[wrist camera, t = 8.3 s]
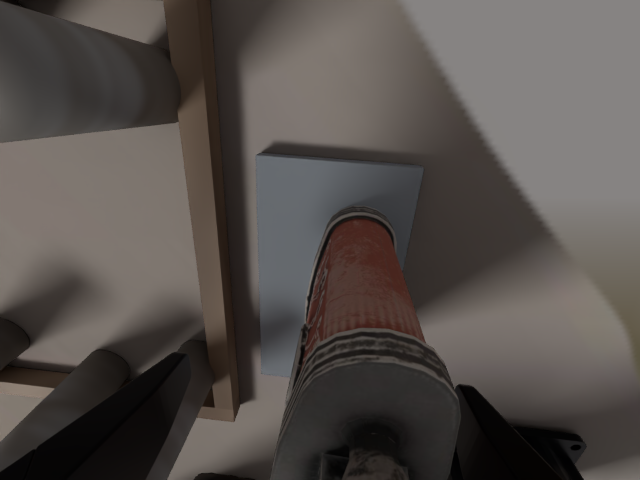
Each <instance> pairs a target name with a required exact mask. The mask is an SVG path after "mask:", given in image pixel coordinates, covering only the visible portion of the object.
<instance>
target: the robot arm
mask: <svg viewBox="0 0 640 480" xmlns="http://www.w3.org/2000/svg"><path fill="white" fill-rule="evenodd" d="M191 375H192V371H191V365H190V359H189V355H188V354H187V353H183V352H173V353H171V354H170V355H168V356H167V357H165V358H164V359H163V360H161V361H160V362H158V363H157V364H155V365H154V366H152V367H151V368H150V369H148V370H147V371H145V372H144V373H142V374H141V375H139V376H138V377H137V378H135V379H134V380H132V381H131V382H129V383H128V384H126V385H125V386H124V387H122V388H121V389H119V390H118V391H116V392H115V393H113V394H112V395H111V396H109V397H108V398H106V399H105V400H103V401H102V402H100V403H99V404H98V405H96V406H95V407H93V408H92V409H90V410H89V411H87V412H86V413H85V414H83V415H82V416H80V417H79V418H77V419H76V420H74V421H73V422H72V423H70V424H69V425H67V426H66V427H64V428H63V429H61V430H60V431H59V432H57V433H56V434H54V435H53V436H51V437H50V438H48V439H47V440H46V441H44V442H43V443H41V444H40V445H38V446H37V448H36V449H32V450H31V451H29V452H28V453H27V454H25V455H24V456H22V457H21V458H19V459H18V460H16V461H15V462H14V463H12V464H11V465H9V466H8V467H6V468H5V469H3V470H2V471H0V480H146V478H147V476H148V474H149V472H150V470H151V468H152V466H153V465H154V463H155V461H156V459H157V457H158V455H159V453H160V451H161V449H162V447H163V445H164V443H165V441H166V439H167V437H168V435H169V433H170V430H171V428H172V425H173V423H174V420H175V418H176V415H177V413H178V410H179V408H180V405H181V403H182V400H183V398H184V395H185V393H186V390H187V388H188V385H189V383H190V380H191ZM455 392H456V395H457V397H458V400H459V406H460V413H461V420H460V425H459V430H458V434H457V439H456V444H455V449H454V454H453V459H452V464H451V469H450V474H449V476H448V478H447V480H584V479H583V477H582V476H581V474H580V473H579V471H578V469H577V468H576V466H575V465H574V464H575V463H576V462H577V460H578V459H579V457H580V456H581V455H582V453H583V452H584V450H585V449H586V444H585V443H584V441H583V440H582V438H581V437H580V436H579V435H577V434H571V433H562V432H554V431H545V430H537V429H529V428H520V427H512V426H511V425H510V424H509V423H508V422H507V421H506V420H505V419H504V418H503V417H502V416H501V415H500V414H499V412H498V411H497V410H496V409H495V408H494V407H493V406H492V405H491V404H490V403H489V402H488V401H487V400H486V399H485V398H484V397H483V396H482V395H481V394H480V393H479V392H478V391H477V390H476V389H475V388H474V387H473V386H470V385H462V384H458V385H457V386H456V388H455Z"/></svg>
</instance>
